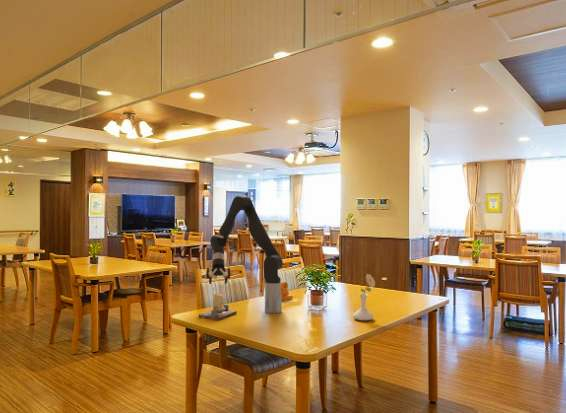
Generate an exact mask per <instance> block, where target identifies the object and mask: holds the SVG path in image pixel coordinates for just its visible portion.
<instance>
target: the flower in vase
mask: <svg viewBox="0 0 566 413" xmlns="http://www.w3.org/2000/svg"><path fill="white" fill-rule="evenodd" d="M365 281H366V286H365V289H364V288H360V291H361V293H359V294H358V295H359V297H360V302H361V303H360V308H359V309H357V311H355V312H354V313H353V315H352V317H353V318H354V319H356V320H359V321H370V320H373V319H374V316H375V315H374V314H373V313H372V311H370V310H368V309H367V307H366V302H367V297H368V296H369V294H368V293H369V292H371V291H372V288H375V287H376V281H375V279H374V277H373V276H372V275H371V274H368V273H367V274H366V275H365ZM367 286H368V287H367ZM370 287H371V288H370ZM366 291H367V292H368V293H365V292H366Z"/></svg>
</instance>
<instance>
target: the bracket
mask: <svg viewBox="0 0 566 413" xmlns="http://www.w3.org/2000/svg"><path fill="white" fill-rule="evenodd" d="M288 287H289V284H288V282H287V281H282V280H281V288H280V295H282V302H285V300H286V301H291V299H293V298H294V297H293V296H294V295H293V294H289V290H288Z"/></svg>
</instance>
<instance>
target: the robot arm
mask: <svg viewBox="0 0 566 413" xmlns="http://www.w3.org/2000/svg"><path fill="white" fill-rule="evenodd" d="M240 211H243V212H244V213H245V215H246V217H247V222H248V223H247V224H248V225H247V226H248V233H250V236H251V238H252V239H253V241H254V242H255V244H256V245H257V246H258V247H259V248H260V249H261V250H262V251H263V252H264V254H265V256H266V257H265V258H264V260H263V277H264V312H265V313H267V314H278V313H280V312H282V310H283V309H282V307H283V306H282V304H283V301H282V295H280V288H281V281H282V280H281V277H280V276H279V270H281V269H282V267H283V265H284V262H283V258H282V257H281V255H280V253H279V252H278V250H277V249H276V247H275V245H274V244H273V242H272V240H271V238H270V237H269V234H268V232H267V230H266V228H265V226H264V224H263V223H262V221H261V219H260V217H259V215H258V213H257V211H256V208H255V205H254V203H253V200H252V199H251V197H249V196H248V195H236V196H234V198H233V199H232V202H231V204H230V207H229V210H228V212H227V214H226V217H225V219H224V221H223V223H222V224H221V226H220V228H219V230H218V234H220V235H218V234H214V235H212V236H211V237H210V242H209V243H210V246H211V249H212V259H211V260H212V262H211V264H212V265H211V266H212V267H211V268H208V267H207V268H206V273H205V274H206V275H205V277H206V279H207V280H208V282H209V285H212V282H213V278H214V277H218V276H219V277H223V278H224V285H227V283H228V279H231V268H229V267H228V268H226V267H225V264H226V263H225V262H226V260H225V258H226V257H225V249H224V248H226V246H227V244H228V240H229V237H230V234H231V232H232V231H233V230H234V227H235V223H236V218H237V215H238V214H239V213H240ZM210 273H211V274H210ZM226 273H227V274H226Z"/></svg>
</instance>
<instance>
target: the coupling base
mask: <svg viewBox="0 0 566 413" xmlns="http://www.w3.org/2000/svg"><path fill="white" fill-rule="evenodd" d="M212 310H213V309H211V310H209V311H205V312H202V313H199V314H198V318H201V319H208V320H214V321H222V320H224V319H227V318H229V317H231V316H232V317H233V316H235V315H237V310H230V309H228V310H225V311H222V313H221V314H217V316H216V317H214V316H211V311H212Z"/></svg>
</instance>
